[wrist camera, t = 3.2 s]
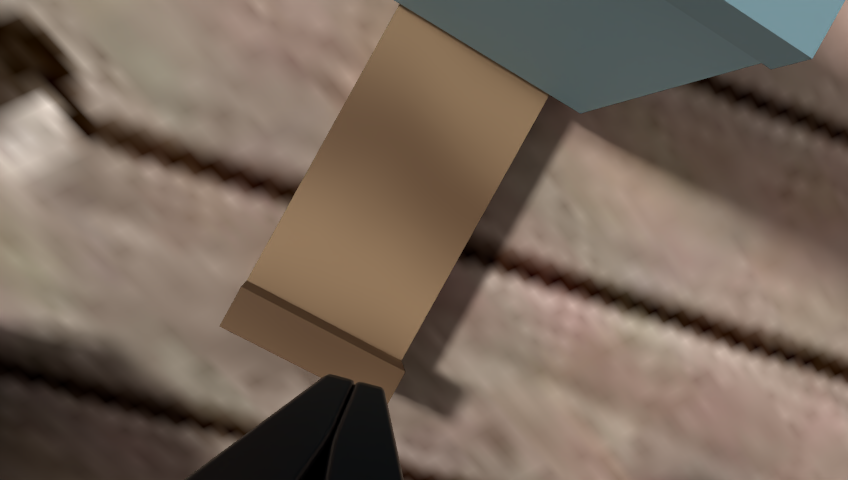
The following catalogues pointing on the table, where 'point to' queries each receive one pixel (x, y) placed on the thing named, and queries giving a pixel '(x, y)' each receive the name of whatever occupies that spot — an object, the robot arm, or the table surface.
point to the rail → (386, 206)
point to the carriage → (630, 40)
